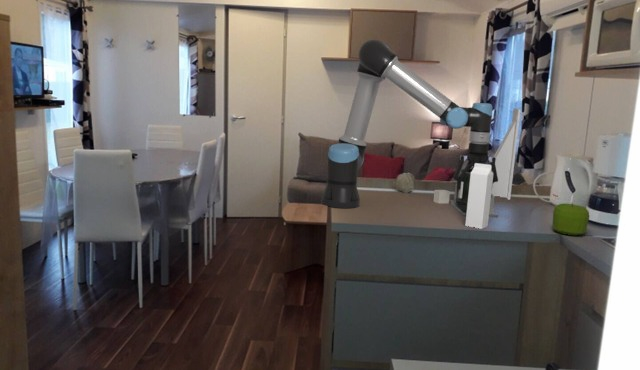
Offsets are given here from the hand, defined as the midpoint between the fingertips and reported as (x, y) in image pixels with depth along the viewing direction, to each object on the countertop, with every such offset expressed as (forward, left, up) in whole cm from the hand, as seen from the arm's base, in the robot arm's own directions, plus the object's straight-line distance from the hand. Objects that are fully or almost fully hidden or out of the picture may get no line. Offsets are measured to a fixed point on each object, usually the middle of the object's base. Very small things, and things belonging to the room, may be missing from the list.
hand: (473, 198), depth 211 cm
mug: (0, 0, -1) cm, 1 cm away
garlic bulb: (-23, +31, -5) cm, 39 cm away
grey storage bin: (0, 0, -5) cm, 5 cm away
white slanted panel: (+19, +36, -5) cm, 41 cm away
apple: (+24, -31, -5) cm, 40 cm away
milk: (-6, -27, -5) cm, 28 cm away
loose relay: (-10, +11, -5) cm, 16 cm away
